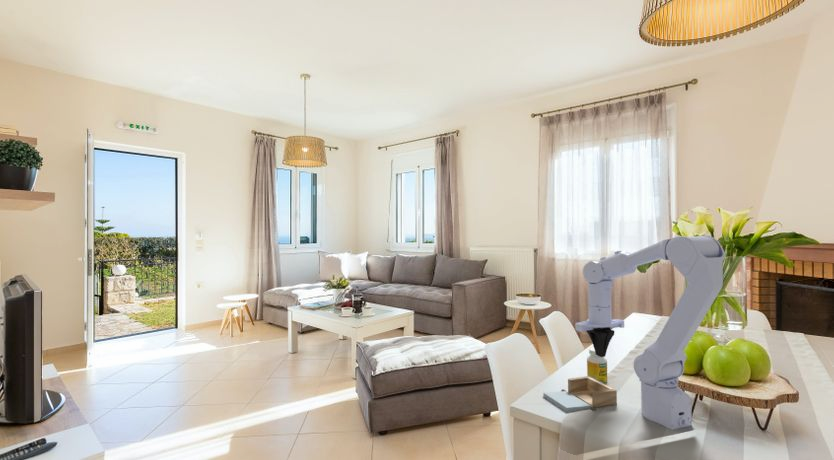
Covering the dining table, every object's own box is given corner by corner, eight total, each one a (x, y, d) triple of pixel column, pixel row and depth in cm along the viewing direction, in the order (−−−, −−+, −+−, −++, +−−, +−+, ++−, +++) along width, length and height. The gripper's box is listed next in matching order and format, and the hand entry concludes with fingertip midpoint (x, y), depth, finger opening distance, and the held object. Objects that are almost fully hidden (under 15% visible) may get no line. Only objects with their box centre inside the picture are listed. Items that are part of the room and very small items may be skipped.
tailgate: (590, 405, 94) (566, 407, 92) (590, 410, 94) (566, 412, 92) (566, 391, 103) (543, 392, 101) (565, 395, 103) (543, 397, 101)
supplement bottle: (594, 377, 116) (593, 345, 116) (611, 383, 111) (610, 350, 112) (583, 381, 113) (583, 349, 113) (600, 387, 108) (600, 353, 109)
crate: (619, 409, 95) (619, 391, 95) (592, 414, 93) (592, 395, 93) (585, 391, 106) (585, 374, 106) (561, 395, 104) (561, 378, 104)
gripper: (610, 301, 110) (610, 348, 110) (567, 304, 106) (568, 354, 106) (630, 305, 104) (631, 356, 103) (585, 309, 99) (586, 362, 99)
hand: (600, 355), depth 104 cm, fingers closed
